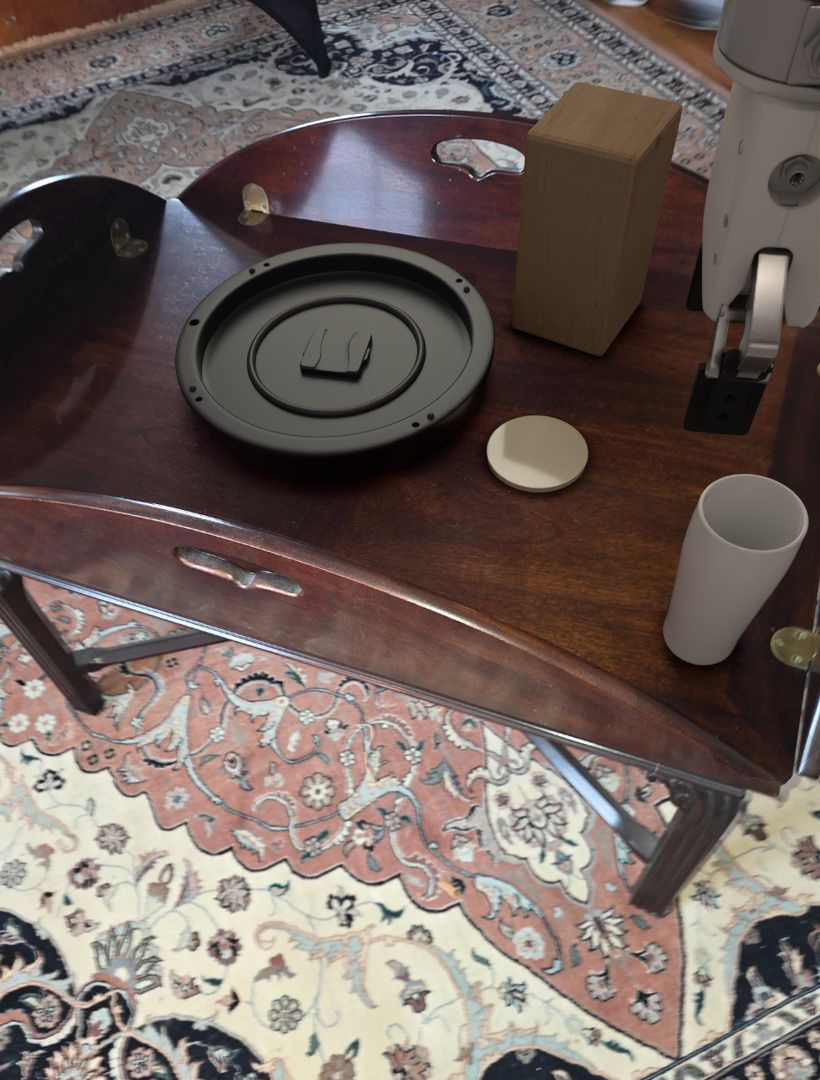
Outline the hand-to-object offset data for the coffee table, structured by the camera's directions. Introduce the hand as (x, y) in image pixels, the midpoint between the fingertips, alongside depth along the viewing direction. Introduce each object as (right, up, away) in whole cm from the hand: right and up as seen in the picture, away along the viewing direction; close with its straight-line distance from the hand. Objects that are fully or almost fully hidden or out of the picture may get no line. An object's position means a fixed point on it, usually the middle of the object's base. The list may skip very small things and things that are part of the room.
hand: (713, 366), depth 48 cm
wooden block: (+2, +16, +42) cm, 45 cm away
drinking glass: (+6, -16, +20) cm, 26 cm away
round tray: (-22, +9, +39) cm, 45 cm away
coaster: (-4, 0, +32) cm, 32 cm away
